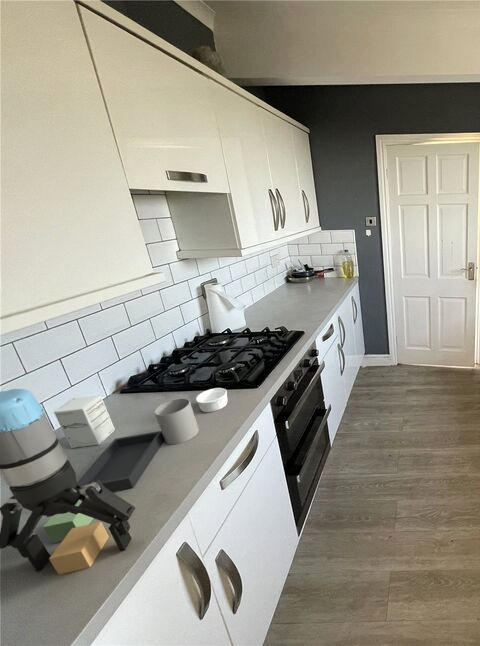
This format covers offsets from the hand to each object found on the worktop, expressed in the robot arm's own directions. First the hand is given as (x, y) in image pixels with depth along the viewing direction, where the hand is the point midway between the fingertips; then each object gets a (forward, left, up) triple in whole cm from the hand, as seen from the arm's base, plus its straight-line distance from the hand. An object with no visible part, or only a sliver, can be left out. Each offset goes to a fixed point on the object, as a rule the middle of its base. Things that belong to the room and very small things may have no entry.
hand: (86, 554), depth 69 cm
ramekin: (+10, +51, 0) cm, 52 cm away
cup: (+5, +37, 0) cm, 37 cm away
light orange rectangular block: (0, 0, 0) cm, 0 cm away
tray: (-5, +27, 0) cm, 27 cm away
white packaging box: (-20, +43, 0) cm, 47 cm away
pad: (-6, +9, 0) cm, 11 cm away
